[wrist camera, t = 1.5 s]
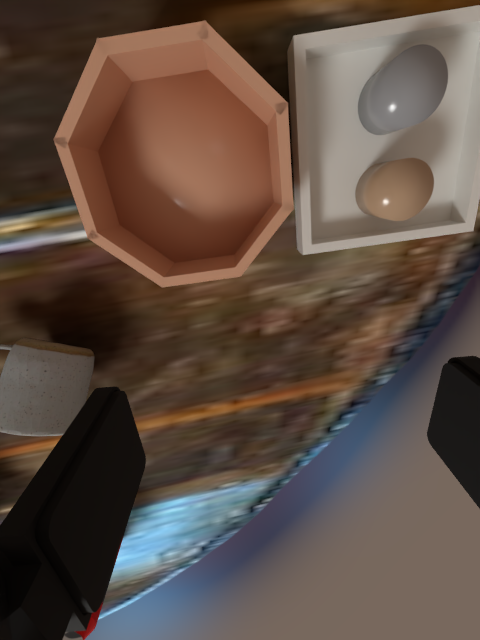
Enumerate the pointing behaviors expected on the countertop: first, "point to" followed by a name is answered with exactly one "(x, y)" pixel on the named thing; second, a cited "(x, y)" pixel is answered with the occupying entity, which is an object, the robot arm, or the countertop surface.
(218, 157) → the bowl
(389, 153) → the parts tray
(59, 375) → the ceramic mug
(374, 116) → the slate pebble
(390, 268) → the countertop surface
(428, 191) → the tan pebble
